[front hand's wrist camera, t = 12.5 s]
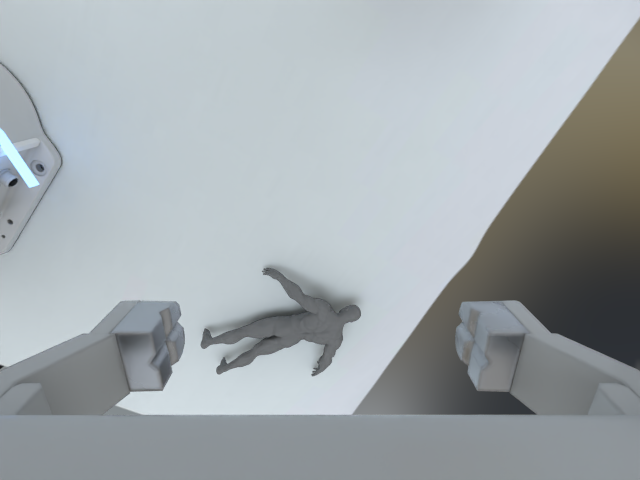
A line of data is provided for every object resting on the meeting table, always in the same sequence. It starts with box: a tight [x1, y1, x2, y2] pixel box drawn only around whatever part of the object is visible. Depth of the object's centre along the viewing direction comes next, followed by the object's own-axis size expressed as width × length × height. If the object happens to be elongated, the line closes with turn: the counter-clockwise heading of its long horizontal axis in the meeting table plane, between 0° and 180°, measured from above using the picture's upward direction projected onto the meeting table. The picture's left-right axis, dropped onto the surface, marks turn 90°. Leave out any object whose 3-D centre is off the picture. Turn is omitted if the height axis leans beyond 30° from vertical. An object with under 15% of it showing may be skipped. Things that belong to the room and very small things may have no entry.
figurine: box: [201, 268, 361, 376], centre depth 44 cm, size 17×4×20 cm
